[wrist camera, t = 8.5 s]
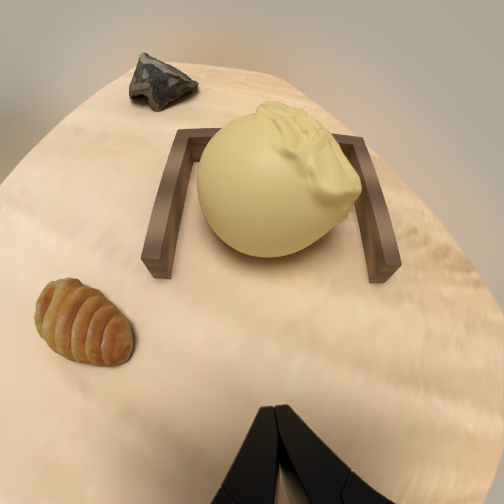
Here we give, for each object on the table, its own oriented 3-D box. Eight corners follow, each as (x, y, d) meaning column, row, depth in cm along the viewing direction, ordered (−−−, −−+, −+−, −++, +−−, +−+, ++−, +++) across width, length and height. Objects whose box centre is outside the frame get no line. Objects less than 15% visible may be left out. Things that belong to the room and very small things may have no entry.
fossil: (215, 84, 38) (190, 44, 29) (181, 129, 39) (147, 95, 29) (169, 71, 41) (141, 38, 31) (138, 111, 42) (104, 82, 32)
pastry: (150, 313, 22) (134, 298, 19) (123, 388, 19) (100, 385, 15) (70, 280, 23) (49, 261, 20) (44, 342, 20) (19, 331, 17)
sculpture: (353, 248, 25) (400, 163, 16) (226, 292, 23) (211, 208, 13) (300, 163, 30) (315, 77, 21) (192, 190, 28) (174, 99, 19)
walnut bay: (384, 282, 23) (401, 264, 20) (153, 277, 23) (140, 258, 20) (354, 159, 31) (362, 137, 28) (182, 153, 31) (177, 129, 28)
